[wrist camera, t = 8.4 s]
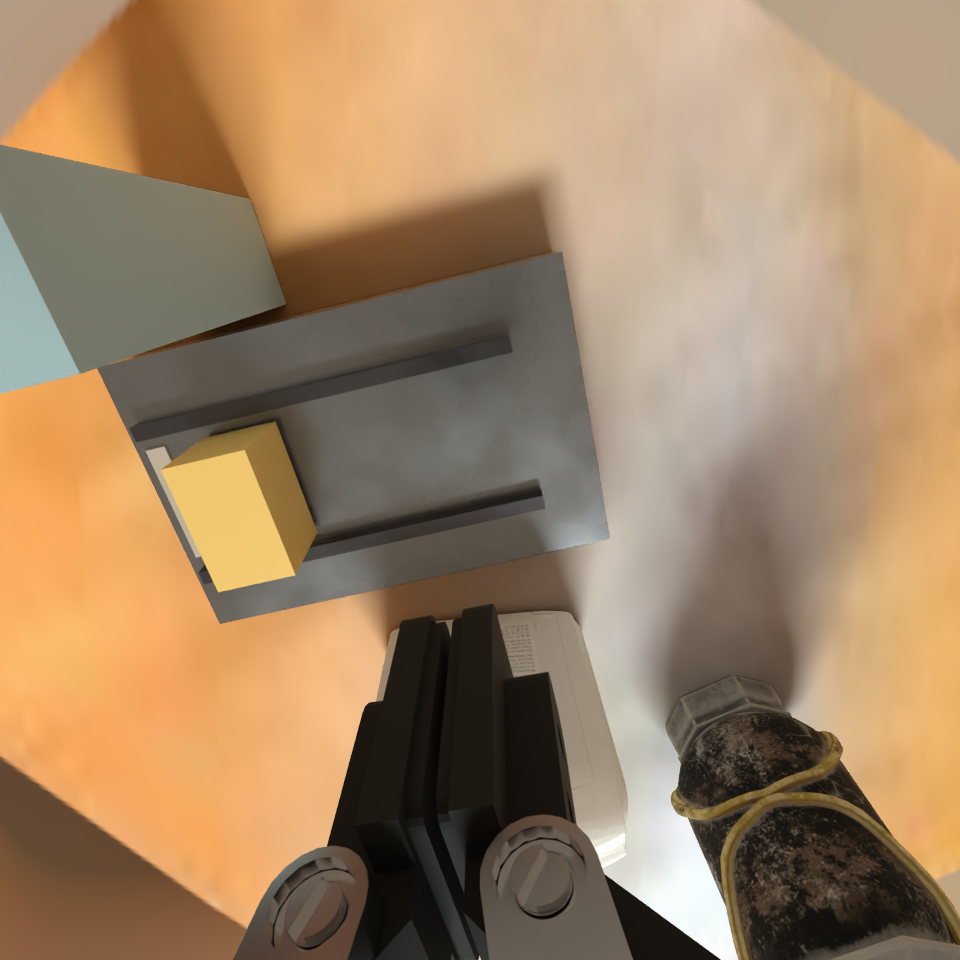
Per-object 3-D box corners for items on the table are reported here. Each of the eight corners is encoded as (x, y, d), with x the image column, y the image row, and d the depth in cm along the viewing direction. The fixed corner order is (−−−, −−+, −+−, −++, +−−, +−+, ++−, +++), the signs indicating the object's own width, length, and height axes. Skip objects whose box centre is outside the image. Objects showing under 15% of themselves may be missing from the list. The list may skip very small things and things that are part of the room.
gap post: (250, 198, 23) (-37, 136, 10) (286, 304, 24) (79, 373, 11) (152, 224, 23) (-258, 197, 10) (194, 327, 24) (-115, 421, 11)
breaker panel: (551, 251, 24) (564, 252, 21) (597, 514, 28) (613, 545, 25) (131, 355, 25) (87, 370, 22) (239, 593, 29) (214, 631, 26)
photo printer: (392, 687, 32) (352, 941, 20) (378, 621, 30) (326, 855, 18) (583, 666, 31) (653, 909, 20) (579, 598, 30) (652, 820, 18)
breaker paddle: (275, 420, 23) (244, 449, 20) (317, 532, 25) (295, 575, 22) (202, 438, 23) (160, 469, 20) (249, 547, 25) (218, 592, 22)
